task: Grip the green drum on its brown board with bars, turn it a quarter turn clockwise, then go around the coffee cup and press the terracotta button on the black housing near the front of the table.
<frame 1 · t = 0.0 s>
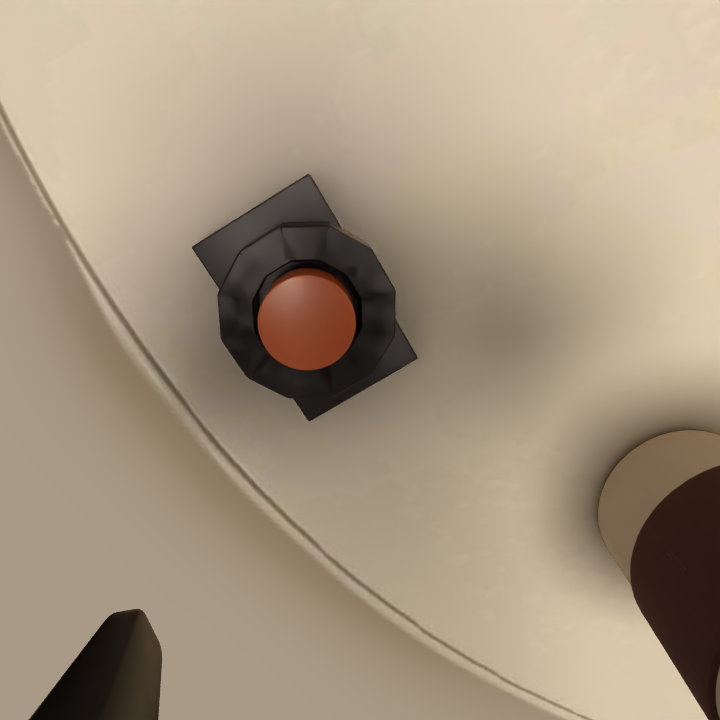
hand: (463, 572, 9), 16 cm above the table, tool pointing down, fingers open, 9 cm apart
coffee cup: (669, 497, 28), on the table
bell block: (309, 299, 24), on the table
button: (307, 318, 21), point 3 cm above the table, slide at 0.1 cm
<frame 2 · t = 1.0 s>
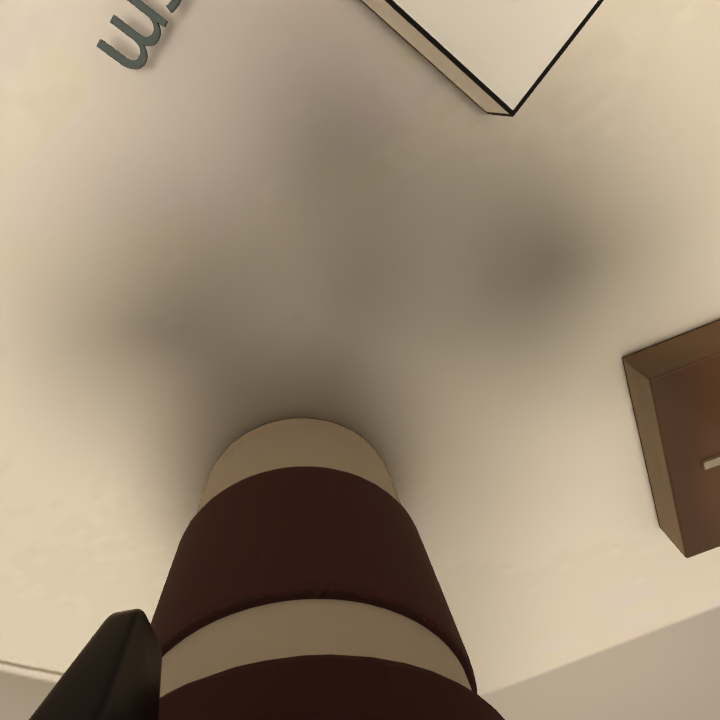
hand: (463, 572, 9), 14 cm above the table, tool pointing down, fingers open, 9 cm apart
coffee cup: (299, 489, 24), on the table
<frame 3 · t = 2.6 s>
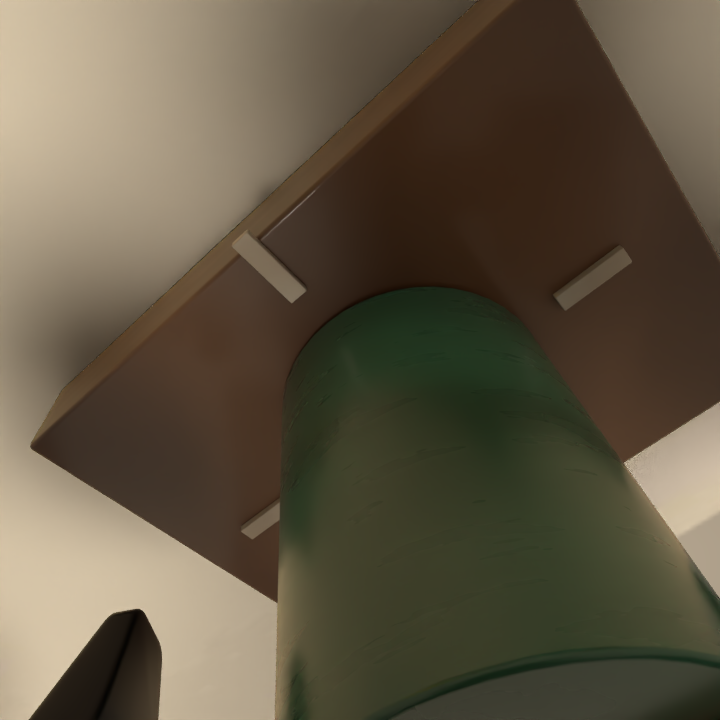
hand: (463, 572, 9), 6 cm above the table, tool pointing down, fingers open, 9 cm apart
green drum: (459, 552, 9), point 6 cm above the table, hinge at 0.0°
brown board with bars: (399, 354, 14), on the table
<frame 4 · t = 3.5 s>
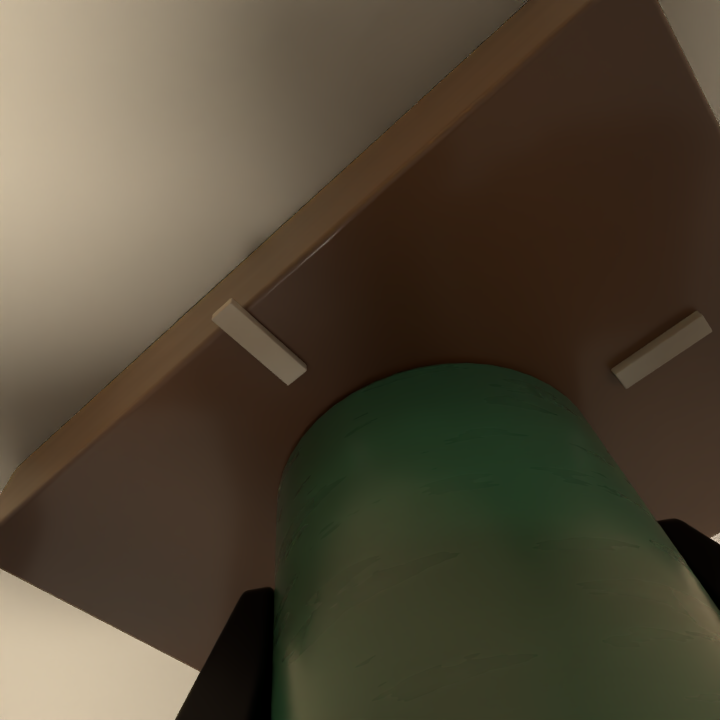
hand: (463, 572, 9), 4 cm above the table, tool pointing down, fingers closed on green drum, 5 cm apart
brown board with bars: (417, 423, 12), on the table
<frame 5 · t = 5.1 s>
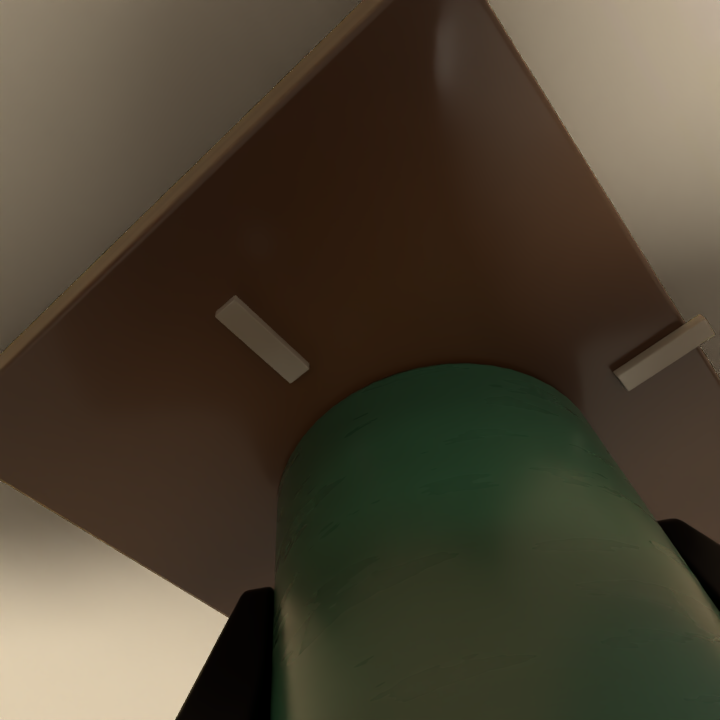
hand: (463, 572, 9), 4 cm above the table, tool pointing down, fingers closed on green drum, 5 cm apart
brown board with bars: (417, 423, 12), on the table
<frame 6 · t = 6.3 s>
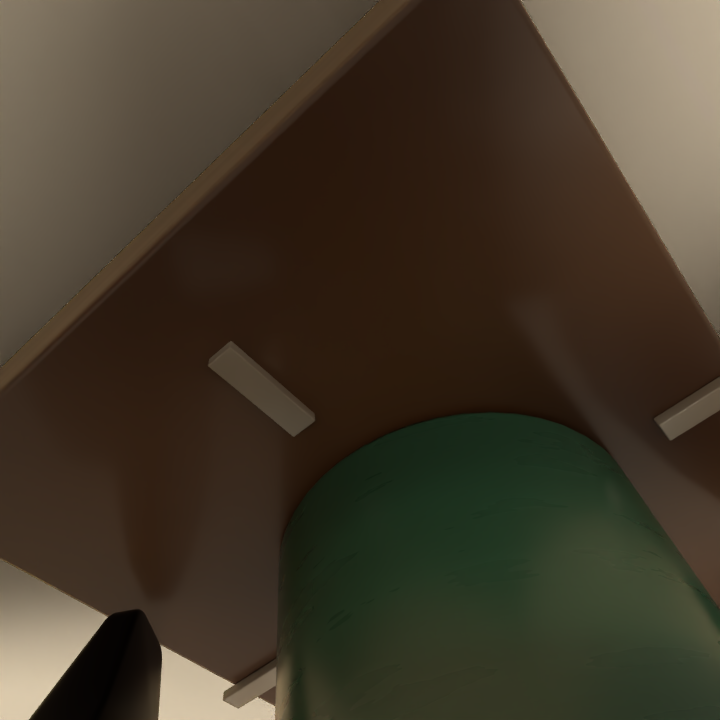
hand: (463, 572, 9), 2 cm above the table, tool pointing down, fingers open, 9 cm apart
brown board with bars: (430, 463, 11), on the table
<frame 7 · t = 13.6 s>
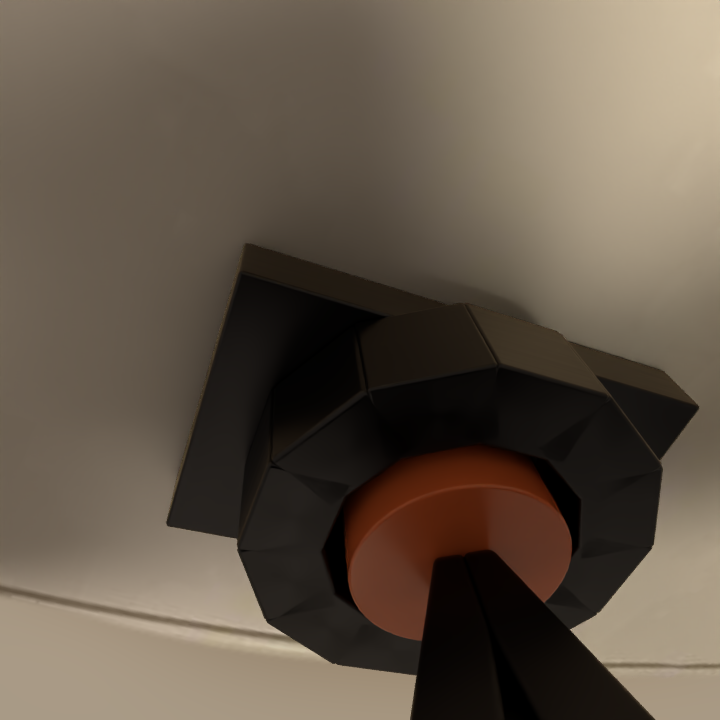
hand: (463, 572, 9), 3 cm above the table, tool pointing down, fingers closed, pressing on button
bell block: (418, 425, 12), on the table
button: (448, 525, 9), point 3 cm above the table, slide at -0.8 cm, touching gripper
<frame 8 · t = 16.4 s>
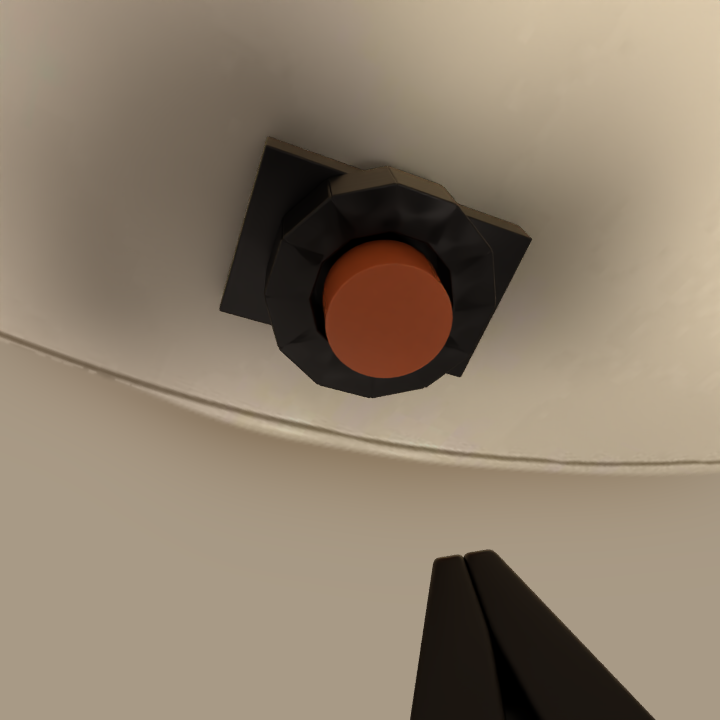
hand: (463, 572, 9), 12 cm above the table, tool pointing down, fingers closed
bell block: (370, 260, 19), on the table
button: (385, 309, 16), point 3 cm above the table, slide at 0.1 cm
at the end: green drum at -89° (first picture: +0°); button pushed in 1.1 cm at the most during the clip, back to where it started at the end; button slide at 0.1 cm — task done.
